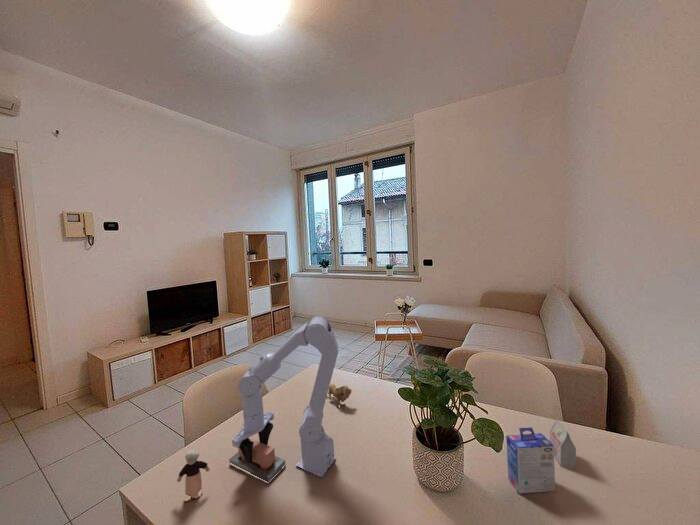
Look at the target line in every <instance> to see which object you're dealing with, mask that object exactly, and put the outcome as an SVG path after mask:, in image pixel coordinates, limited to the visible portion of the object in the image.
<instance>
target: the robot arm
mask: <svg viewBox="0 0 700 525" xmlns="http://www.w3.org/2000/svg"><path fill="white" fill-rule="evenodd" d="M334 333H335V332H334V331H333V326H332V324H331V323H330V322H329V321H328V319H327V318H326V317H324V316H322V315H316V316H313V317H312V318H311V319H310V320H309V322H308V321H307V322H306V323H303V325H301V326H300V327H299V328H298V329H297V330H296V331H295V332H294V333H293V334H292V335H291V336H290V337H288V338H287V340H286V341H285V342H284V343H283V344H282V345H281V346H280V347H279V348H278V349H277V350H276V351H274V352H268V353H266V354H262V355H261V356H260V357H259V361H257V363H255V364H254V365H253V366H251V365H250V367H249V368H248V369H247V371H246V372H245V373H244V375H243V376H242V377H241V379H240V380H239V382H238V385H237V389H238V392H239V393H240V394H241V402H242V403H241V405H242V414H243V415H242V416H243V423H242V426H243V427H242V428H241V429H240V430H239V432H237V434H236V435H235V436H234V437H233V438H232V439H231V443H232V447H234V448H237V449H238V447H239V448H240V450H241V451H242V453H243V456H244V458H245V461H246V462H248V463H251V462H252V448H253V444H254V442H252V441H250V439H251V438H250V437H252V436H254V435H257V434H258V440H259V441H258V442H260V443H262V444H265V445H268V444H269V440H270V435H271V432H272V430H273V429H274V423H272V422H270V421H274V420H275V413H274V412H272V411H268V412H266V413H265V414H264V402H263V400H264V399H263V390H262V388H263V387H262V384H264V383H266V382H267V380H269V379H270V378H271V377H273V375H275V373H276V372H277V371H279V369H281V367H282V361H283V360H284V359H286V358H287V357H288V356H289V355H290V354H291V353H292V352H293V351H295V350H296V349H297V348H299V347H300V346H303V347H308V346H309V344H310V345H311V346H312V347H314V348H315V349H317V351H318V352H319V353H320V354H321V355H320V356H321V357H320V361H319V365H318V369H317V372H316V376H315V380H314V384H313V386H312V392H311V396H310V399H309V402H308V405H307V406H306V407H305V409H304V410H303V414H302V420H301V425H300V426H299V430H298V434H299V437H300V449H301V459H302V460H301V459H300V460H301V461H302V462H301V463H300V462H299V461H298V462H297V463H296V464H295V467H296V466H298V465H300V466H298V467H300V468H302V469H301V470H303V469H304V470H303V471H305V470H306V472H308V471H309V472H308V473H310V472H311V473H310V474H312V473H313V475H315V476H317V477H319V476H320V478H322V477H323V476H324V475H325V474H326V473H327V472H328V470H329V469H330V468H331V466H332V465H333V463H334V462H335V461H334V460H336V459H337V458H336V456H335V446H334V445H335V444H334V439H333V438H332V437H330V436H329V435H328V434H327V433H326V432H325V428H324V427H323V418H324V408H325V403H326V400H327V397H328V396H327V394H328V393H329V386H330V385H331V380H332V377H333V373H334V369H335V366H336V361H337V358H338V354H339V345H338V341H337V339H336V336H335V334H334ZM249 438H250V439H249ZM268 446H269V445H268ZM333 461H334V462H333ZM331 464H332V465H331ZM298 467H297V468H298ZM300 468H299V469H300ZM328 468H329V469H328ZM327 469H328V470H327ZM325 472H326V473H325ZM318 473H319V474H318ZM324 473H325V474H324Z"/></svg>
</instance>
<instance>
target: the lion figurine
mask: <svg viewBox="0 0 700 525" xmlns="http://www.w3.org/2000/svg"><path fill="white" fill-rule="evenodd" d="M352 391H353V390H352V389H351V388H349V387H348V385H343V386H341V387H337V386H336V385H335V384H331V383H330V385H329V389H328V393H327V394H329V395H328V399H329V398H331V399H332V397H331V394H333V396H334V397H333V398H335V399H336V401H337V406H338V405H341V402H344V403H345V401H346V400H347V399H349V397H350V395H351V394H352Z"/></svg>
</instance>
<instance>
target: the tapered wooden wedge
mask: <svg viewBox="0 0 700 525" xmlns="http://www.w3.org/2000/svg"><path fill="white" fill-rule="evenodd" d="M249 439H250V441H252V442H254V444H253V448H252V461H253V462H255V463H257V464H259V465H260V469H261V470H264V471H266V470H267V469H268V468H269V467H270V466H271V465H272V464H273V463H274V462H275V456H276V455H275V454H276V453H275V448H274V447H272V446H269V445H265V444H262V443H260V441H258V440H255V439H252V438H250V437H249ZM237 449H238V452H239V456H241V460H242V461H244V462H246V461H245V458H244V456H243V453H242V451H241V450H240V448H239V447H238V448H237Z"/></svg>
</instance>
